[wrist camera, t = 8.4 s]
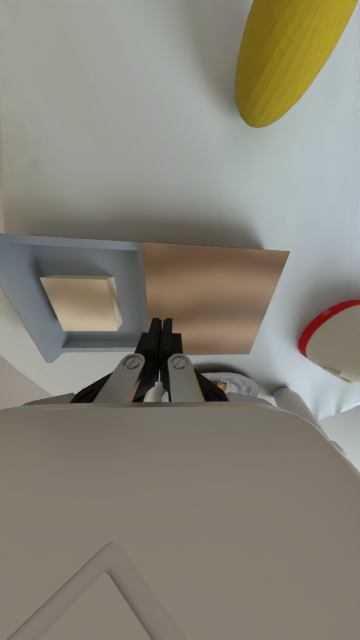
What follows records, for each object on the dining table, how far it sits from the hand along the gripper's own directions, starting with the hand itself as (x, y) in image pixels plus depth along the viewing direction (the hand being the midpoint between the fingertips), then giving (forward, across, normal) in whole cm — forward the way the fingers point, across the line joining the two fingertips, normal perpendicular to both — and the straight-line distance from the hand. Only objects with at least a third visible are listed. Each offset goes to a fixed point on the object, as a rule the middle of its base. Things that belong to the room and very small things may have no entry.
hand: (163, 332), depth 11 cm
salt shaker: (+10, -30, +26) cm, 41 cm away
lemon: (+10, -8, -18) cm, 22 cm away
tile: (+6, +10, +1) cm, 12 cm away
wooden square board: (+10, -6, +1) cm, 11 cm away
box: (+9, +10, +1) cm, 13 cm away
